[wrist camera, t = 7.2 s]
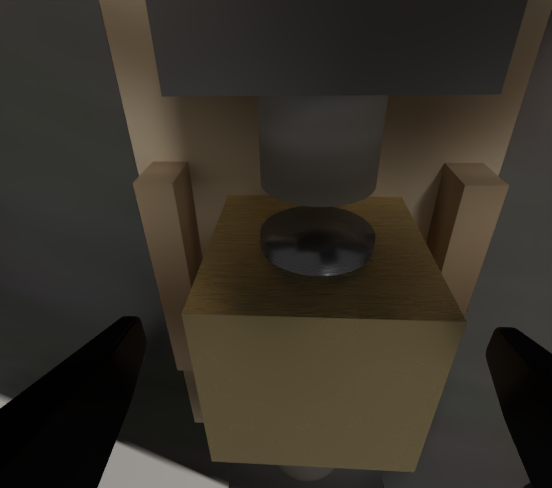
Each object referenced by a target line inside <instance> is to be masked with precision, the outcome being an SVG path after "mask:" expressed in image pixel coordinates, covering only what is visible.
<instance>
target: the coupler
mask: <svg viewBox="0 0 552 488" xmlns="http://www.w3.org/2000/svg"><path fill="white" fill-rule="evenodd" d="M182 319H183V324H184V328H185V333H186V338H187V343H188V348H189V353H190V358H191V363H192V367H193V372H194V377H195V382H196V387H197V392H198V397H199V402H200V406H201V411H202V416H203V421H204V426H205V431H206V436H207V441H208V445H209V450H210V455H211V460H212V462H231V463H250V464H269V465H288V466H307V467H326V468H345V469H364V470H383V471H402V472H415V469H416V466H417V463H418V460H419V457H420V455H421V452H422V449H423V446H424V443H425V440H426V437H427V435H428V432H429V429H430V426H431V423H432V420H433V417H434V414H435V412H436V409H437V406H438V403H439V400H440V397H441V394H442V392H443V389H444V386H445V383H446V380H447V377H448V374H449V372H450V369H451V366H452V363H453V360H454V357H455V354H456V351H457V349H458V346H459V343H460V340H461V337H462V334H463V331H464V329H465V326H466V323H467V321H466V320H465V318H464V316H463V314H462V312H461V310H460V308H459V306H458V304H457V302H456V300H455V298H454V296H453V294H452V292H451V291H450V289H449V287H448V285H447V283H446V281H445V279H444V277H443V275H442V273H441V271H440V269H439V267H438V265H437V264H436V262H435V260H434V258H433V256H432V254H431V252H430V250H429V248H428V246H427V244H426V242H425V240H424V238H423V236H422V235H421V233H420V231H419V229H418V227H417V225H416V223H415V221H414V219H413V217H412V215H411V213H410V211H409V209H408V207H407V206H406V204H405V202H404V200H403V198H402V197H367V198H365V199H364V200H361V201H359V202H356V203H352V204H348V205H343V206H335V207H308V206H300V205H294V204H290V203H286V202H283V201H280V200H278V199H275V198H273V197H272V196H257V195H228V196H227V199H226V201H225V204H224V207H223V209H222V212H221V214H220V217H219V219H218V222H217V224H216V227H215V230H214V232H213V235H212V237H211V240H210V242H209V245H208V247H207V250H206V252H205V255H204V258H203V260H202V263H201V265H200V268H199V270H198V273H197V275H196V278H195V281H194V283H193V286H192V288H191V291H190V293H189V296H188V298H187V301H186V304H185V306H184V309H183V311H182Z"/></svg>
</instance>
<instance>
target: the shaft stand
mask: <svg viewBox="0 0 552 488" xmlns="http://www.w3.org/2000/svg"><path fill="white" fill-rule="evenodd" d="M99 2H100V6H101V10H102V15H103V19H104V24H105V28H106V33H107V37H108V41H109V46H110V50H111V55H112V59H113V63H114V68H115V72H116V77H117V81H118V85H119V90H120V94H121V99H122V103H123V108H124V112H125V116H126V121H127V125H128V130H129V134H130V138H131V143H132V147H133V152H134V156H135V160H136V165H137V169H138V174H139V177H138V178H137V179H136V180H135V181H134V182H133V186H134V190H135V194H136V199H137V203H138V207H139V211H140V215H141V219H142V224H143V228H144V232H145V236H146V240H147V245H148V249H149V253H150V257H151V261H152V266H153V270H154V274H155V278H156V282H157V286H158V291H159V295H160V299H161V303H162V307H163V312H164V316H165V320H166V324H167V328H168V333H169V337H170V341H171V345H172V349H173V353H174V358H175V362H176V366H177V370H182V371H183V372H184V377H185V381H186V385H187V390H188V394H189V399H190V403H191V407H192V412H193V416H194V421H195V422H198V423H204V421H203V416H202V411H201V406H200V402H199V397H198V392H197V387H196V382H195V377H194V372H193V367H192V363H191V358H190V353H189V348H188V343H187V338H186V333H185V328H184V324H183V319H182V311H183V309H184V306H185V304H186V301H187V298H188V296H189V293H190V291H191V288H192V286H193V283H194V281H195V278H196V275H197V273H198V270H199V268H200V265H201V263H202V260H203V258H204V255H205V252H206V250H207V247H208V245H209V242H210V240H211V237H212V235H213V232H214V230H215V227H216V224H217V222H218V219H219V217H220V214H221V212H222V209H223V207H224V204H225V201H226V199H227V196H228V195H257V196H272V197H273V198H275V199H278V200H280V201H283V202H286V203H290V204H294V205H300V206H308V207H335V206H343V205H348V204H352V203H356V202H359V201H361V200H364V199H365V198H367V197H402V198H403V200H404V202H405V204H406V206H407V207H408V209H409V211H410V213H411V215H412V217H413V219H414V221H415V223H416V225H417V227H418V229H419V231H420V233H421V235H422V236H423V238H424V240H425V242H426V244H427V246H428V248H429V250H430V252H431V254H432V256H433V258H434V260H435V262H436V264H437V265H438V267H439V269H440V271H441V273H442V275H443V277H444V279H445V281H446V283H447V285H448V287H449V289H450V291H451V292H452V294H453V296H454V298H455V300H456V302H457V304H458V306H459V308H460V310H461V312H462V314H463V316H464V317H465V314H466V311H467V308H468V305H469V302H470V299H471V296H472V293H473V291H474V288H475V285H476V282H477V279H478V276H479V273H480V270H481V267H482V264H483V261H484V258H485V255H486V252H487V250H488V247H489V244H490V241H491V238H492V235H493V232H494V229H495V226H496V223H497V220H498V217H499V214H500V211H501V209H502V206H503V203H504V200H505V197H506V194H507V191H508V188H509V185H508V184H507V183H506V182H504V181H503V180H502V179H501V178H500V177H499V173H500V169H501V166H502V163H503V160H504V157H505V154H506V151H507V148H508V144H509V141H510V138H511V135H512V132H513V129H514V126H515V123H516V119H517V116H518V113H519V110H520V107H521V104H522V101H523V98H524V94H525V91H526V88H527V85H528V82H529V79H530V76H531V73H532V69H533V66H534V63H535V60H536V57H537V54H538V51H539V48H540V44H541V41H542V38H543V35H544V32H545V29H546V26H547V23H548V19H549V16H550V13H551V10H552V0H99ZM229 488H384V485H383V479H382V473H381V470H364V469H345V468H326V467H307V466H288V465H269V464H250V463H232V469H231V475H230V482H229Z"/></svg>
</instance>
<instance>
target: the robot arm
mask: <svg viewBox="0 0 552 488" xmlns="http://www.w3.org/2000/svg"><path fill="white" fill-rule="evenodd" d="M145 349H146V336H145V332H144V329H143V326H142V322H141V319H140V318H139V317H137V316H123V317H121V318H120V319H119V320H117V321H116V322H115V323H113V324H112V325H111V326H109V327H108V328H107V329H105V330H104V331H103V332H101V333H100V334H99V335H97V336H96V337H95V338H93V339H92V340H91V341H89V342H88V343H87V344H85V345H84V346H83V347H81V348H80V349H79V350H77V351H76V352H75V353H73V354H72V355H71V356H69V357H68V358H67V359H65V360H64V361H63V362H61V363H60V364H59V365H57V366H56V367H55V368H53V369H52V370H51V371H50V372H48V373H47V374H46V375H44V376H43V377H42V378H40V379H39V380H38V381H36V382H35V383H34V384H32V385H31V386H30V387H28V388H27V389H26V390H24V391H23V392H22V393H20V394H19V395H18V396H16V397H15V398H14V399H12V400H11V401H10V402H8V403H7V404H6V405H4V406H3V407H2V408H0V488H97V487H98V484H99V482H100V480H101V477H102V474H103V472H104V469H105V467H106V464H107V462H108V459H109V457H110V454H111V452H112V449H113V447H114V444H115V442H116V439H117V437H118V434H119V431H120V429H121V426H122V424H123V421H124V419H125V416H126V414H127V411H128V408H129V406H130V403H131V400H132V396H133V393H134V389H135V386H136V382H137V378H138V375H139V371H140V367H141V364H142V360H143V356H144V353H145ZM486 359H487V363H488V366H489V370H490V373H491V376H492V380H493V383H494V387H495V390H496V393H497V397H498V400H499V403H500V407H501V410H502V413H503V416H504V419H505V422H506V424H507V427H508V429H509V432H510V434H511V436H512V439H513V441H514V444H515V446H516V448H517V451H518V453H519V455H520V458H521V460H522V463H523V465H524V467H525V470H526V472H527V475H528V477H529V479H530V482H531V484H532V487H533V488H552V354H551V353H550V352H549V351H547V350H546V349H544V348H543V347H542V346H540V345H539V344H537V343H536V342H535V341H533V340H532V339H530V338H529V337H528V336H526V335H525V334H523V333H522V332H521V331H519V330H518V329H516V328H512V327H498V328H496V329H495V330H494V332H493V335H492V337H491V339H490V342H489V344H488V347H487V349H486Z"/></svg>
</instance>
